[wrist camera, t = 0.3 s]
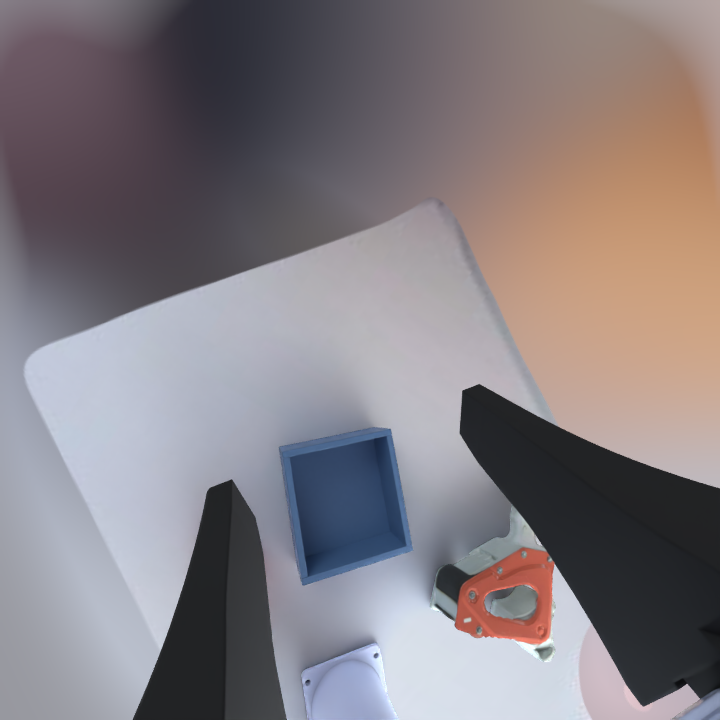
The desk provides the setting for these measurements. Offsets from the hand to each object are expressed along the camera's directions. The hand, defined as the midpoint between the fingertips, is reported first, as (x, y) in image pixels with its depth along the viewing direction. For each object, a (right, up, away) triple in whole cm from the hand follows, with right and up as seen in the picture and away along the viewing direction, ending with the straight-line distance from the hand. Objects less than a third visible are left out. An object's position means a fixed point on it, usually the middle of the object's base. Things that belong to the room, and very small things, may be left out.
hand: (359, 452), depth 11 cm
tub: (-2, -11, +28) cm, 30 cm away
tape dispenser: (+16, -20, +32) cm, 41 cm away
